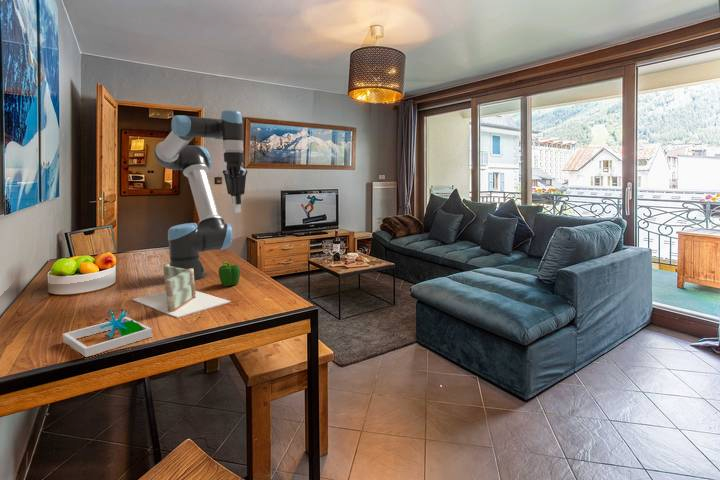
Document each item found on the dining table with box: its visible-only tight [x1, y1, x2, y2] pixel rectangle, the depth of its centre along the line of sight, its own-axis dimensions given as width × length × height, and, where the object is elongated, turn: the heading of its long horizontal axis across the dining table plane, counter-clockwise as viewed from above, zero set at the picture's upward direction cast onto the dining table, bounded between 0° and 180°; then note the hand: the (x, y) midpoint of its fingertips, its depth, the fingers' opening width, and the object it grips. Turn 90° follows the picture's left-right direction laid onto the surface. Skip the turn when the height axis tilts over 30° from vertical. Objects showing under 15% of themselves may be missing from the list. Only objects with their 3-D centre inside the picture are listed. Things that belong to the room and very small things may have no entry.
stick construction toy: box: [100, 309, 142, 339], centre depth 108 cm, size 12×7×8 cm
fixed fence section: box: [163, 263, 196, 298], centre depth 142 cm, size 17×2×10 cm, turn 58°
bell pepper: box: [218, 261, 241, 287], centre depth 156 cm, size 8×8×10 cm
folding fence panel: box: [164, 270, 192, 311], centre depth 130 cm, size 14×2×10 cm, turn 178°
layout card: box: [132, 290, 231, 319], centre depth 136 cm, size 31×19×1 cm, turn 53°
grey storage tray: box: [62, 316, 153, 357], centre depth 103 cm, size 16×16×2 cm
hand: (237, 212), depth 154 cm, fingers closed
